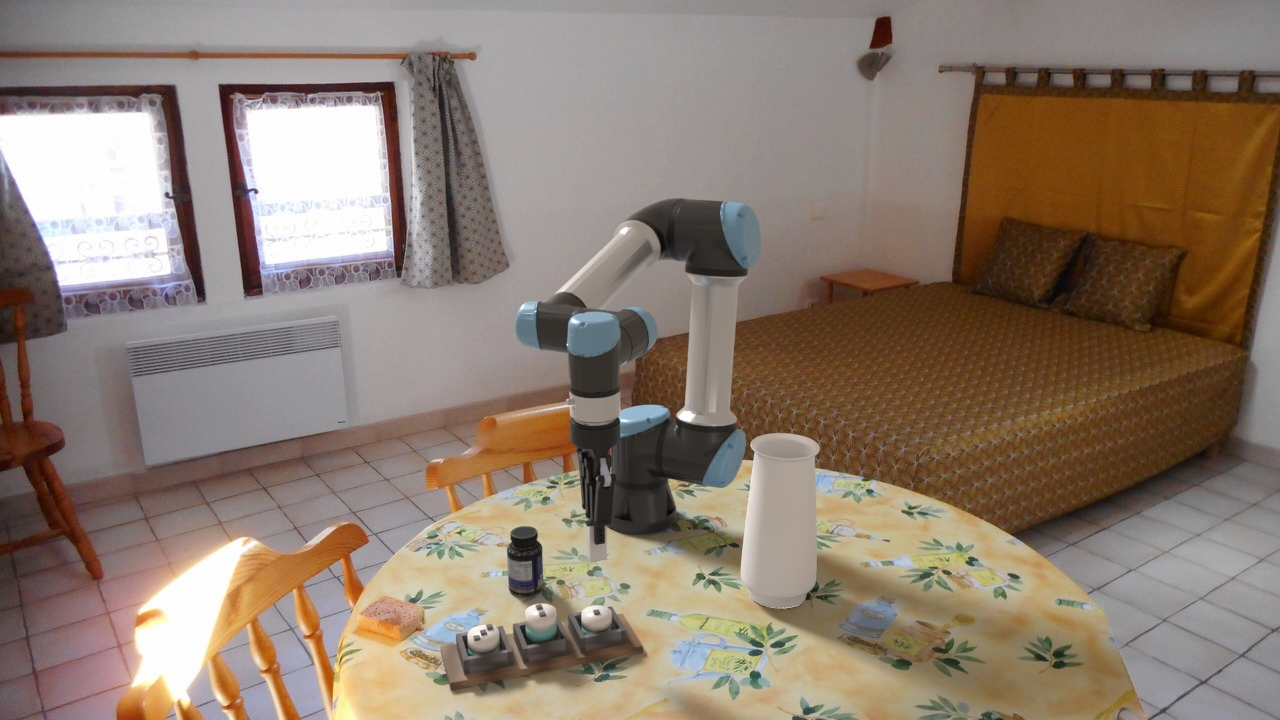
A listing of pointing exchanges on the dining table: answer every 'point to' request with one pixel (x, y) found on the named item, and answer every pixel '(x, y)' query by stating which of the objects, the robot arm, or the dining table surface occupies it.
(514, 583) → the pill bottle
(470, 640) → the button three
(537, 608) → the button two
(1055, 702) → the dining table surface
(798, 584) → the vase
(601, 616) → the button one
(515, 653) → the button board
